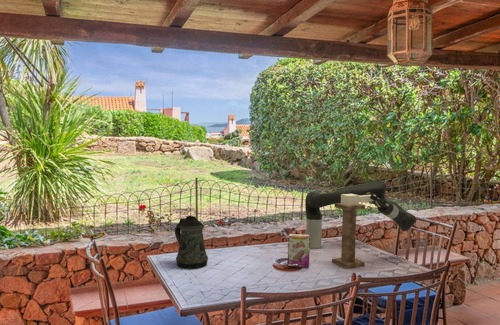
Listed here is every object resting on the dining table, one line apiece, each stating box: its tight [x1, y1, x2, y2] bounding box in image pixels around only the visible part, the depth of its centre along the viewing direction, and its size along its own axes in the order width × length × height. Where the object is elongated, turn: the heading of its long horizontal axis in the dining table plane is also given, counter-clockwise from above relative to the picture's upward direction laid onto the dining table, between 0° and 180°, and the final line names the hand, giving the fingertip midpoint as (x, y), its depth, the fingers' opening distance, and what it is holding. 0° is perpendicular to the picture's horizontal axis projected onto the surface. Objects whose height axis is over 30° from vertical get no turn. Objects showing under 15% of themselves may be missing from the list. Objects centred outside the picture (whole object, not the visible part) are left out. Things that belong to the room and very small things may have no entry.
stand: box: [331, 203, 366, 270], centre depth 234 cm, size 12×12×32 cm
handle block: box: [341, 194, 376, 206], centre depth 236 cm, size 20×6×5 cm, turn 116°
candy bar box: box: [287, 233, 311, 269], centre depth 230 cm, size 11×5×16 cm, turn 84°
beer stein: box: [174, 215, 209, 270], centre depth 231 cm, size 16×19×25 cm
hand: (367, 195), depth 238 cm, fingers open, 4 cm apart
